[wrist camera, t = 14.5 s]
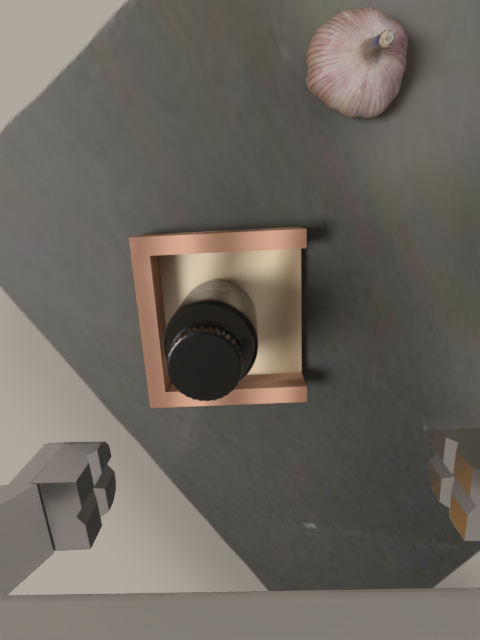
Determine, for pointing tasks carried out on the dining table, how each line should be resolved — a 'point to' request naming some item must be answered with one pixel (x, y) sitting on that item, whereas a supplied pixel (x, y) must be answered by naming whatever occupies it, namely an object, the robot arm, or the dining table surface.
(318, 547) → the dining table surface
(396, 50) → the garlic bulb
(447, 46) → the dining table surface
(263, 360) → the open-sided tray
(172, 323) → the supplement bottle
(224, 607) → the robot arm
